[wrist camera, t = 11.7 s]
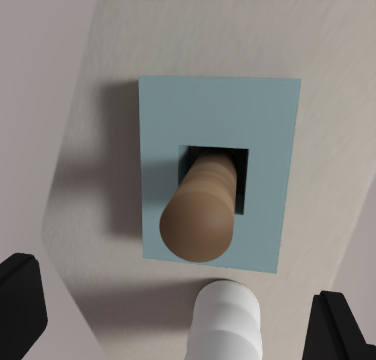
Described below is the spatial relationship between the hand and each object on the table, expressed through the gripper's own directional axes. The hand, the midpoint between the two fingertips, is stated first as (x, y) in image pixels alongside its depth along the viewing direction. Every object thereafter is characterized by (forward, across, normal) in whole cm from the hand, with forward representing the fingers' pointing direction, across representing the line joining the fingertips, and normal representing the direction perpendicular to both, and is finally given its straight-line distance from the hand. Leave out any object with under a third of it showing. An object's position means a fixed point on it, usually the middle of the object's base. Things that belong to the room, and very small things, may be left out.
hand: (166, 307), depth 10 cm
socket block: (+20, 0, +1) cm, 20 cm away
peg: (+20, 0, +1) cm, 20 cm away
